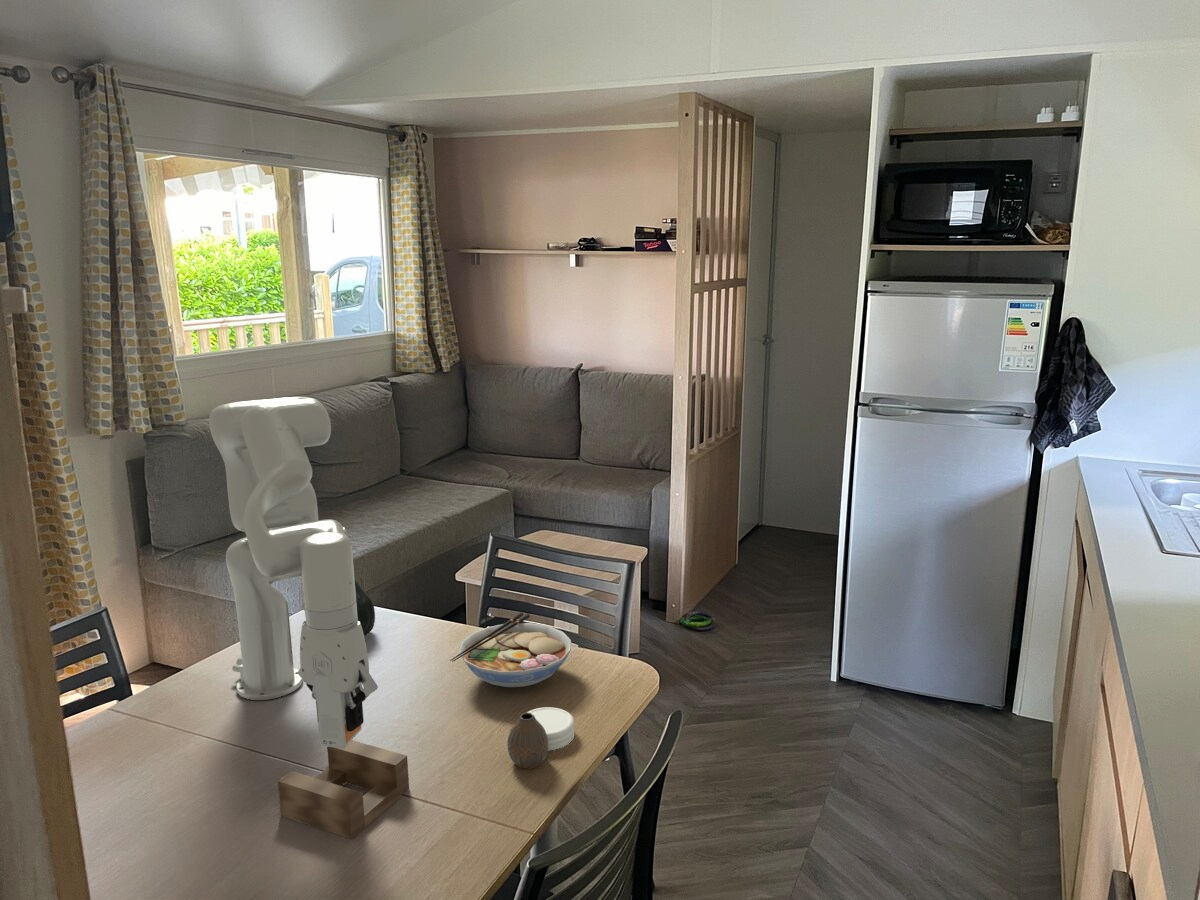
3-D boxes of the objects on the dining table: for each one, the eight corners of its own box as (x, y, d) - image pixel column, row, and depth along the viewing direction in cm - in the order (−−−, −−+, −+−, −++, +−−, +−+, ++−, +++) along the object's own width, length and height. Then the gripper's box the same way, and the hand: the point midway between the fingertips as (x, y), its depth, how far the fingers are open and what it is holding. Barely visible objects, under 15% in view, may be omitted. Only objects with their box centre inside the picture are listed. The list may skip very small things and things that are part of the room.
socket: (281, 815, 139) (277, 781, 138) (341, 768, 152) (339, 736, 150) (352, 839, 133) (349, 803, 132) (409, 788, 146) (407, 755, 144)
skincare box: (345, 749, 136) (338, 677, 134) (319, 746, 137) (312, 674, 134) (363, 729, 142) (357, 659, 139) (338, 726, 143) (332, 657, 140)
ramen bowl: (525, 721, 166) (523, 681, 164) (432, 690, 178) (430, 652, 176) (596, 668, 187) (596, 631, 185) (509, 643, 198) (508, 609, 197)
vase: (554, 755, 155) (553, 709, 153) (539, 777, 149) (538, 729, 147) (518, 748, 157) (516, 703, 155) (501, 769, 151) (499, 722, 149)
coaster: (579, 725, 165) (579, 708, 164) (568, 755, 155) (568, 736, 155) (526, 721, 167) (526, 703, 166) (512, 750, 157) (512, 732, 156)
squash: (283, 622, 197) (317, 579, 192) (325, 599, 211) (359, 559, 206) (325, 669, 196) (361, 627, 190) (365, 643, 209) (400, 604, 204)
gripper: (270, 614, 135) (281, 723, 139) (359, 632, 128) (368, 747, 132) (305, 597, 142) (315, 702, 146) (392, 613, 135) (400, 723, 139)
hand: (340, 722), depth 139 cm, fingers closed on skincare box, 5 cm apart
